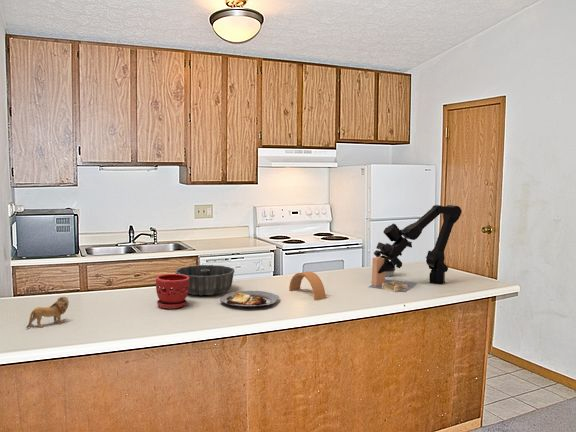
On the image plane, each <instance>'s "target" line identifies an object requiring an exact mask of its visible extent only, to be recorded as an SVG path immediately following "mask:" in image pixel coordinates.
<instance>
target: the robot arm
mask: <svg viewBox="0 0 576 432" xmlns="http://www.w3.org/2000/svg"><path fill="white" fill-rule="evenodd" d="M462 212H463V211H462V208H461V207H460V206H459V205H453V204H452V205H451V204H448V205H445V206H444V205H439V204H435V205H433V206H432V207H431V208H430V209H429V210H428V211H426V213H424V214H423V215H422V216H421V217H420V218H419V219H418V220H417V221H415V222H414V223H411V224H409V225H407V226H405V227H404V228H403V229H402V228H401V229H400V228H399V227H398V226H397V224H396V223H392V224H391V225H388V226H387V227H385V228H384V230H383V234H384V235H385V236H386V237H387V238H388V240H389V241H390V242H393V243H392V244H391V243H388V242H386V243H383V242H379V241H378V243H377V246H376V247H375V248H376V249H377V250H375V251H374V252H373V255H374V256H375V258H377V257H382V258H384V259H385V260H384V264H383V265H382V267H381V268H380V269H379V271H378V273H379V274H380V273H382V272H385V271H387V270H390V269H392V268H395V269H396V268H397V269H401V268H402V267H403V262H402V261H401V259H400V258H398V257H399V256H400V257H402V255H403V252H404V250H405V249H406V248H411V249H412V248H413V244H412V243H413V242H412V241H414V240H417V239H418V238H419V237H420V236H421V235H422V232H423V230H424V229H425V228H426V227H427V226H428V225H429V224H431V222H433V221H434V220H435V219H436V218H437V217H439V215H441V214H442V218H443V219H442V220H443V222H442V224H441V227H440V230H439V234H438V237H437V239H436V242H435V245H434V248H433V249H432V250H428V251H427V255H426V256H425V259H426V261H425V262H426V264H427V266H428V269H429V270H430V272H429V284H435V285H436V284H437V285H443V284H445V283H446V272H448V270H449V266H448V265H447V264H446V263H445V259H446V258H445V256H446V255H445V250H446V247H447V244H448V242H449V238H450V236H451V233H452V229H453V227H454V224H455V223H457V221H459V219H460V217H461V215H462ZM409 240H410V241H409ZM380 250H382V251H380ZM383 253H384V254H383Z"/></svg>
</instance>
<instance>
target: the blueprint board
mask: <svg viewBox="0 0 576 432" xmlns="http://www.w3.org/2000/svg"><path fill="white" fill-rule="evenodd" d="M394 281H395V282H399V283H403V284H406V285H408V287H407V290H404V291H399V293H407V292H408V291H410V290H411V289H413V288H414V287H415V286H417V285H418V283H417V282H415V283H414V282H407V281H399V280H392V279H386V278H385V283H388V282H394ZM369 288H371V289H379V290H384V291H386V290H385V289H382V286H381V287H376V286H374V285H372V284H371V285H369V286H368V289H369Z"/></svg>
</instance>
